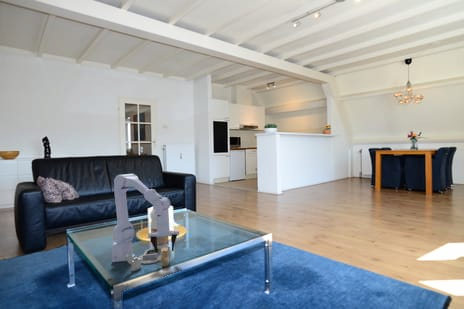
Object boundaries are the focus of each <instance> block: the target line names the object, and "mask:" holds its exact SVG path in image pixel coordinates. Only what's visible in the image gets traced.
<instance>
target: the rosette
mask: <svg viewBox="0 0 464 309" xmlns="http://www.w3.org/2000/svg"><path fill="white" fill-rule="evenodd" d="M138 258H140V260H141V265H152V264H157V263H158V262H161V250H159V249H158V252H157V253H156V252H155V249H152V248H149V249H145V251H144V253H143V254H141V255H139V256H138Z"/></svg>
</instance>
